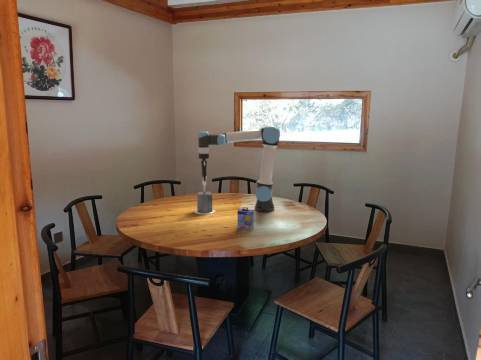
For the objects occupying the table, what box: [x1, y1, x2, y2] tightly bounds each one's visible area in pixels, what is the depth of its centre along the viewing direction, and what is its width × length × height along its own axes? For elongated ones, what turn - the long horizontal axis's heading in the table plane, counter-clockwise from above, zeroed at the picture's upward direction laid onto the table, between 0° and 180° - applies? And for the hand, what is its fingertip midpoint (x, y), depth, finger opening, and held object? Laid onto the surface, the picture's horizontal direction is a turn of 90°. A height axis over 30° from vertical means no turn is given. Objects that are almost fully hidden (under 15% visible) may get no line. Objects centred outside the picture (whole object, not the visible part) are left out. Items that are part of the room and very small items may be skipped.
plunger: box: [200, 174, 208, 193], centre depth 273 cm, size 8×8×19 cm
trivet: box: [193, 208, 216, 215], centre depth 276 cm, size 16×16×1 cm
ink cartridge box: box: [237, 206, 255, 231], centre depth 237 cm, size 10×6×14 cm, turn 78°
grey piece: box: [196, 191, 213, 213], centre depth 276 cm, size 11×14×14 cm
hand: (204, 184), depth 272 cm, fingers closed on plunger, 4 cm apart
